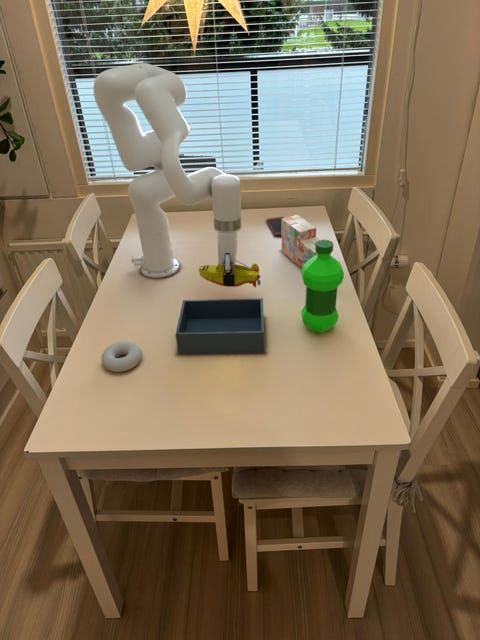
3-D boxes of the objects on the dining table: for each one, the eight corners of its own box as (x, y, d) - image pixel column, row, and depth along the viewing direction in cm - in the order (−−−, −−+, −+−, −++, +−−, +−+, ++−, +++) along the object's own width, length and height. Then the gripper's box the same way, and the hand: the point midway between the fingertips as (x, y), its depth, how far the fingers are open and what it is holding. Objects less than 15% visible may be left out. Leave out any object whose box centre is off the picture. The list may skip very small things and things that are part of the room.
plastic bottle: (336, 340, 124) (344, 255, 109) (296, 335, 127) (298, 251, 112) (340, 318, 132) (349, 236, 117) (303, 313, 134) (306, 232, 120)
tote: (178, 354, 122) (175, 334, 118) (185, 319, 135) (183, 300, 131) (264, 353, 121) (263, 332, 117) (263, 317, 134) (263, 298, 130)
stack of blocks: (329, 274, 151) (332, 239, 144) (312, 279, 149) (314, 243, 142) (296, 246, 167) (297, 213, 160) (280, 250, 165) (281, 217, 158)
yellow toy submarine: (258, 293, 136) (258, 262, 130) (197, 287, 139) (194, 257, 133) (261, 281, 141) (262, 251, 135) (203, 276, 144) (200, 246, 138)
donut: (94, 366, 120) (123, 379, 115) (91, 356, 118) (120, 368, 113) (122, 345, 127) (150, 356, 122) (119, 334, 125) (148, 345, 120)
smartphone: (275, 234, 173) (266, 218, 185) (275, 237, 174) (266, 220, 186) (294, 232, 174) (284, 216, 186) (293, 234, 175) (283, 218, 187)
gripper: (215, 209, 135) (218, 263, 146) (211, 237, 121) (214, 295, 132) (242, 208, 135) (243, 263, 146) (240, 236, 121) (241, 295, 132)
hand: (229, 278), depth 139 cm, fingers closed on yellow toy submarine, 6 cm apart
